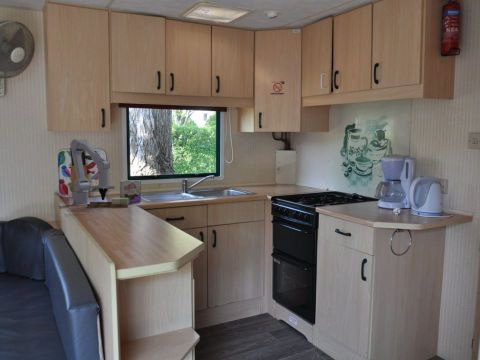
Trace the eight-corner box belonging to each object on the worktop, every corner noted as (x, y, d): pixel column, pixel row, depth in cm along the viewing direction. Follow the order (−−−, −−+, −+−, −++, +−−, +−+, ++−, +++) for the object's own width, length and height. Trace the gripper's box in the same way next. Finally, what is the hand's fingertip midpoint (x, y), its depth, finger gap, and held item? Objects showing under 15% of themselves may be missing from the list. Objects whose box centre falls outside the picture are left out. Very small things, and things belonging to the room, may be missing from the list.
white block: (111, 206, 279) (111, 198, 279) (112, 205, 285) (112, 197, 285) (119, 206, 280) (119, 199, 280) (120, 205, 286) (120, 197, 286)
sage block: (119, 206, 280) (119, 199, 280) (120, 205, 286) (120, 197, 286) (127, 206, 281) (127, 199, 281) (128, 205, 287) (128, 197, 286)
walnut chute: (87, 209, 273) (87, 204, 273) (90, 206, 286) (90, 201, 286) (127, 209, 278) (127, 204, 278) (129, 206, 291) (129, 201, 290)
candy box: (120, 204, 297) (120, 180, 296) (120, 203, 303) (120, 180, 301) (140, 204, 301) (140, 180, 299) (140, 203, 306) (140, 180, 305)
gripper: (90, 179, 274) (90, 200, 276) (114, 180, 277) (114, 201, 278) (92, 178, 281) (92, 199, 282) (115, 178, 284) (115, 199, 285)
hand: (103, 199), depth 281 cm, fingers closed
